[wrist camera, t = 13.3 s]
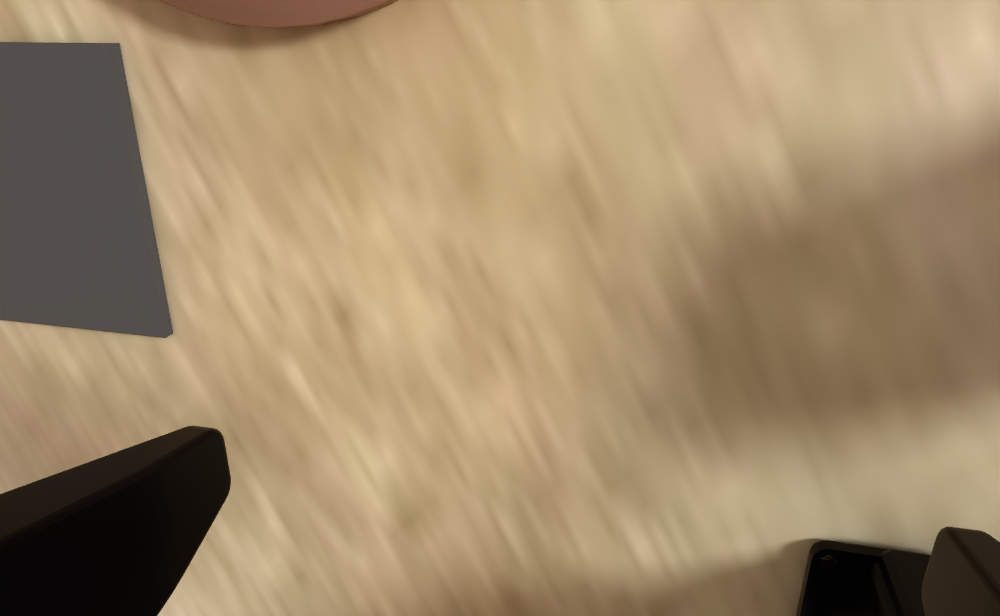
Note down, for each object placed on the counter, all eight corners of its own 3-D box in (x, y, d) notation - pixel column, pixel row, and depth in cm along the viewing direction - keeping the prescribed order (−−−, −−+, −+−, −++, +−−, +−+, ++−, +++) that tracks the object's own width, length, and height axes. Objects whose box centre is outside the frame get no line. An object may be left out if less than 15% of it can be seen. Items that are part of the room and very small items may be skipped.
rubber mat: (172, 333, 26) (165, 337, 26) (-47, 309, 28) (-57, 313, 28) (119, 43, 22) (109, 43, 22) (-130, 40, 24) (-142, 41, 24)
